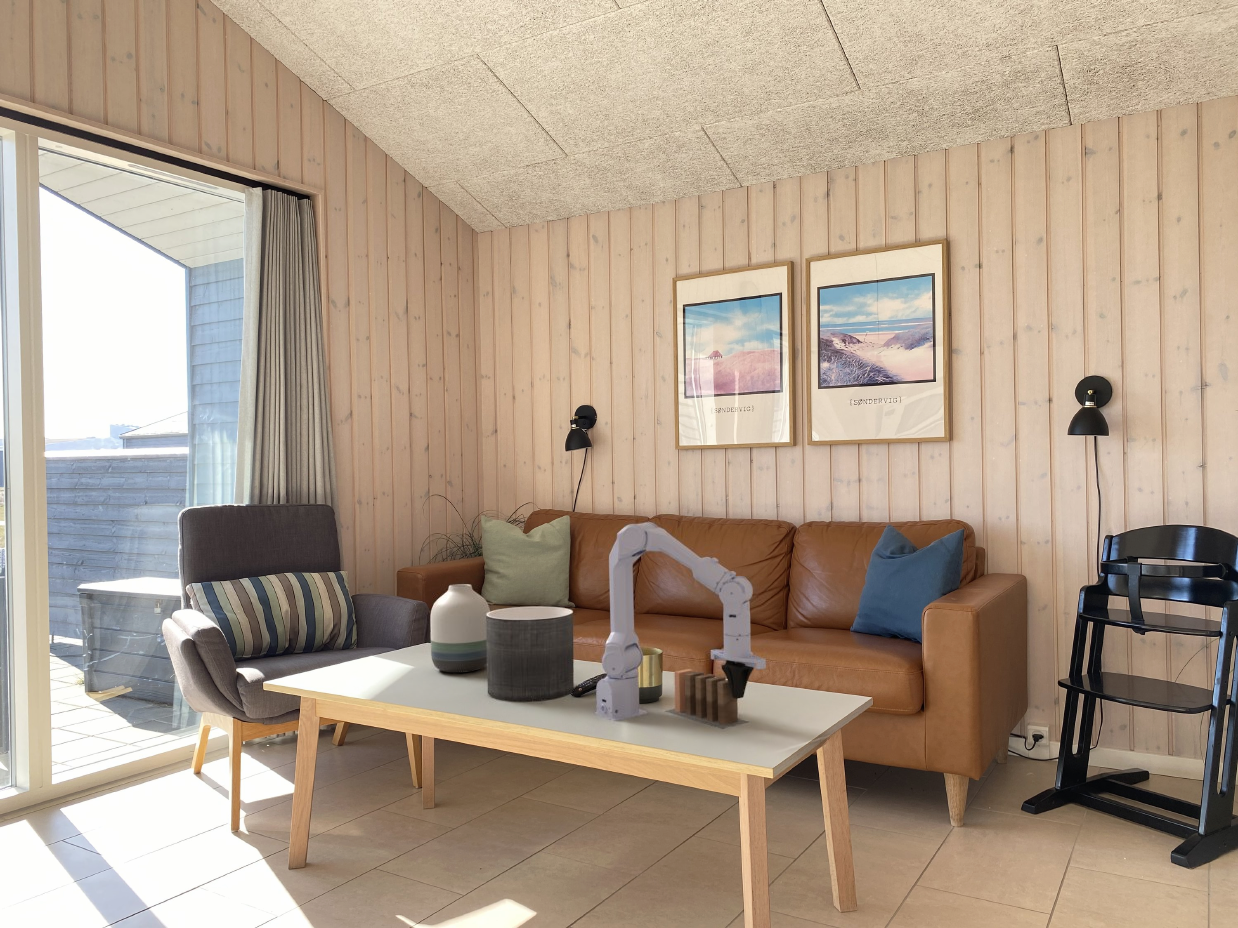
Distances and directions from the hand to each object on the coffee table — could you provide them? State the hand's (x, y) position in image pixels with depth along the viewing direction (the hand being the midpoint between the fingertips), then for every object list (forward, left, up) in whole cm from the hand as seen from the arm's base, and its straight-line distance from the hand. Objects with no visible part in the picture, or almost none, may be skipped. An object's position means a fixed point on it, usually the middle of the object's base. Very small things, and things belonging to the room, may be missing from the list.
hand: (738, 697), depth 190 cm
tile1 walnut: (0, +3, -6) cm, 7 cm away
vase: (-17, +93, -7) cm, 95 cm away
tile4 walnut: (0, +14, -6) cm, 15 cm away
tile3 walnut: (0, +10, -6) cm, 12 cm away
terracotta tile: (0, +17, -6) cm, 18 cm away
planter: (-16, +58, -7) cm, 60 cm away
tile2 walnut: (0, +7, -6) cm, 9 cm away
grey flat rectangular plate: (0, +10, -6) cm, 12 cm away
